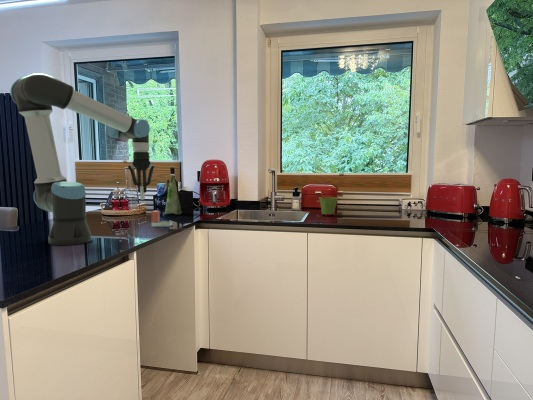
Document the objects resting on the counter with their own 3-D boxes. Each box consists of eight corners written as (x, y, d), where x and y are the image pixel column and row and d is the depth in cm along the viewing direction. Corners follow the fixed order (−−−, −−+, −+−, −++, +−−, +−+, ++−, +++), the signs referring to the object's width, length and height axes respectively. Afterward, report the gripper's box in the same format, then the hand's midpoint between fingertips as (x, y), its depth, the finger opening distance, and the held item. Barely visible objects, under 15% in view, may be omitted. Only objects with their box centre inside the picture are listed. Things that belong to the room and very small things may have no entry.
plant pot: (316, 214, 243) (316, 197, 242) (334, 214, 244) (334, 197, 243) (320, 217, 231) (321, 198, 230) (339, 217, 232) (340, 198, 231)
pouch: (174, 215, 228) (174, 174, 226) (158, 214, 233) (158, 173, 231) (185, 213, 238) (185, 173, 236) (170, 212, 243) (170, 173, 241)
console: (170, 226, 190) (170, 222, 190) (151, 226, 189) (151, 222, 189) (171, 225, 195) (171, 221, 194) (153, 225, 194) (153, 221, 194)
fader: (157, 222, 189) (157, 211, 188) (151, 222, 189) (151, 211, 188) (159, 220, 194) (159, 210, 193) (153, 220, 194) (153, 210, 193)
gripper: (156, 151, 192) (157, 198, 194) (129, 151, 191) (131, 198, 193) (153, 151, 184) (154, 200, 187) (125, 151, 183) (127, 200, 186)
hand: (142, 199), depth 190 cm, fingers closed
